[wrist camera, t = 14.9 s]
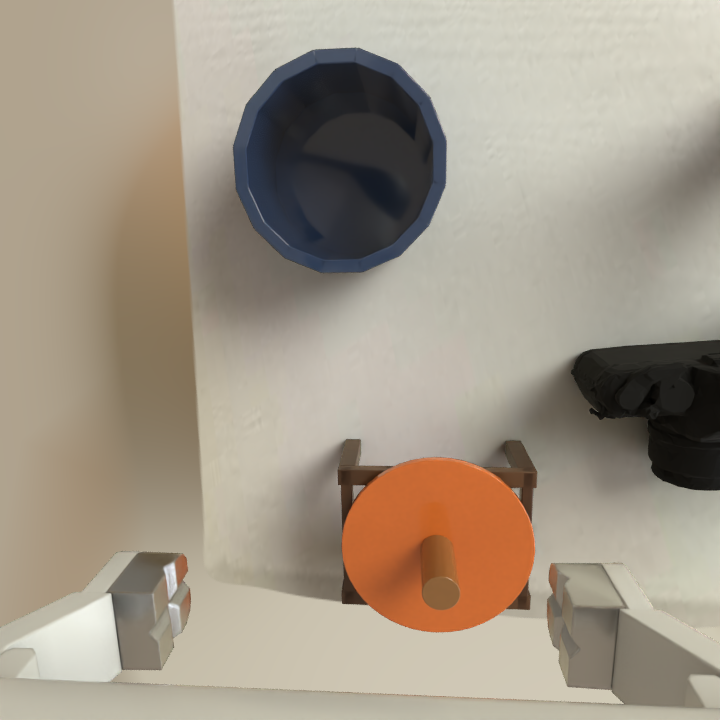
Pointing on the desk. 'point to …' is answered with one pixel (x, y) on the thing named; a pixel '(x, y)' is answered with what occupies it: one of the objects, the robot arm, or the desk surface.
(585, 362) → the film camera
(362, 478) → the rack
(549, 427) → the desk surface
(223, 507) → the desk surface
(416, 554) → the lid
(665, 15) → the desk surface
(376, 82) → the pot
